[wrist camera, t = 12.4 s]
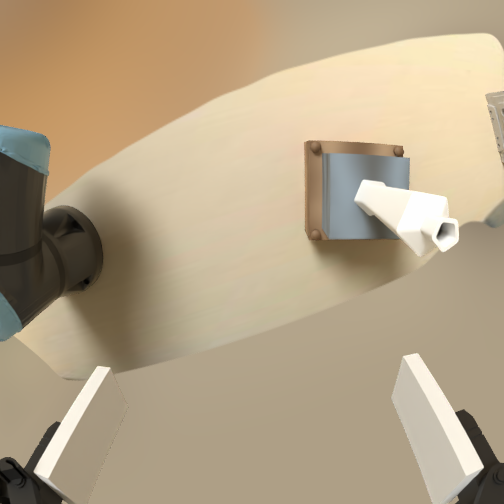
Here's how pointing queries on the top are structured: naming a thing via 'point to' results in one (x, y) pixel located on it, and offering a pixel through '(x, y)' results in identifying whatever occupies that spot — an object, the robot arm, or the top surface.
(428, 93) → the top surface
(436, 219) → the perfume bottle
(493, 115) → the cassette
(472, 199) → the top surface
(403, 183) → the blue block on board
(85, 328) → the top surface
